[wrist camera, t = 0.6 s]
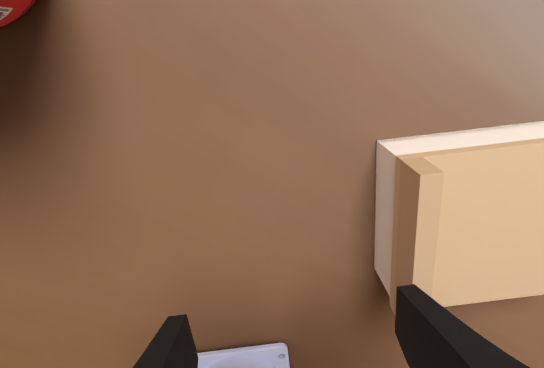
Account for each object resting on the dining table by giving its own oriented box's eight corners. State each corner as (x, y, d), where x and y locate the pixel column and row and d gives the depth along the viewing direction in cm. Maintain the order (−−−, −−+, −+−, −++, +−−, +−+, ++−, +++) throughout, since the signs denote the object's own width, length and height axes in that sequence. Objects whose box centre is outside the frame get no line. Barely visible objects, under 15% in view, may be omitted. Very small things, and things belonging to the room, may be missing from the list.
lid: (626, 128, 17) (690, 143, 14) (578, 282, 20) (622, 314, 18) (395, 155, 16) (420, 175, 14) (389, 305, 20) (408, 341, 18)
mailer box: (564, 118, 20) (615, 130, 17) (533, 248, 23) (571, 276, 20) (376, 140, 20) (397, 157, 17) (374, 268, 23) (391, 298, 20)
